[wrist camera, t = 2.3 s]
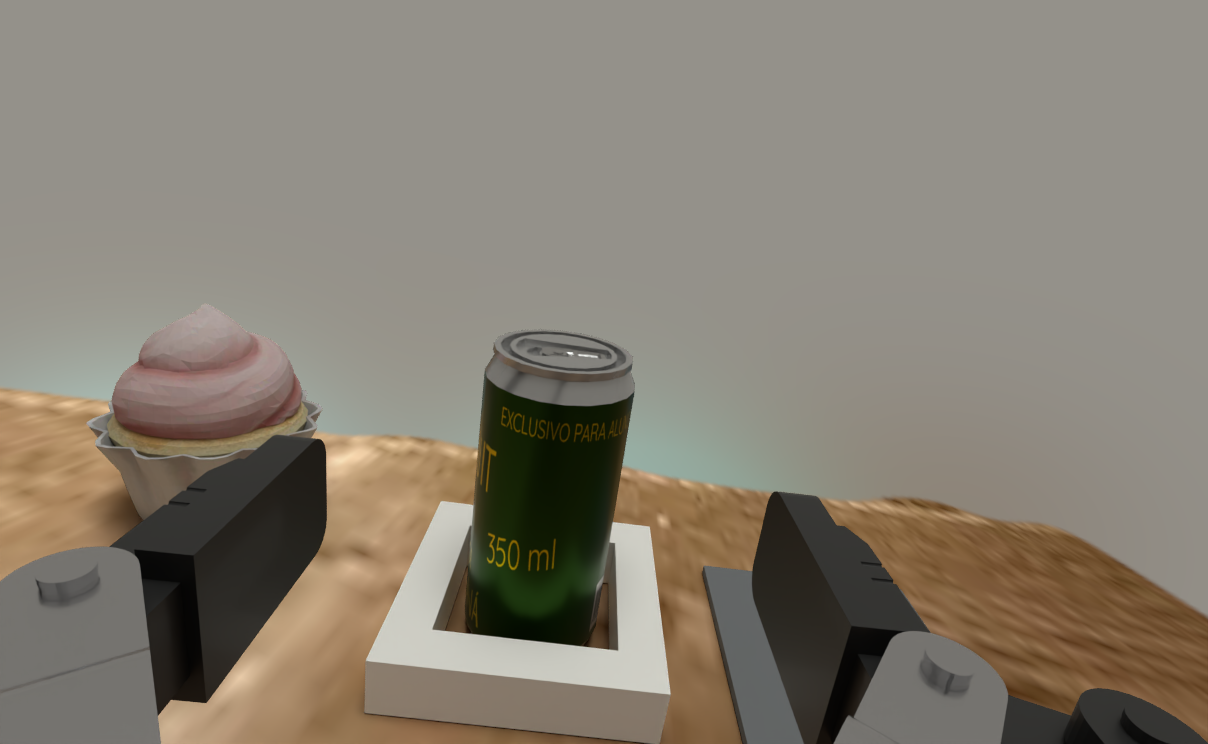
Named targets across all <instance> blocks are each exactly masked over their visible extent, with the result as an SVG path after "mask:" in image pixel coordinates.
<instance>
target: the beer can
mask: <svg viewBox="0 0 1208 744" xmlns="http://www.w3.org/2000/svg"><path fill="white" fill-rule="evenodd" d="M493 350H494V353H495V354H494V356H493V358H492V359H491V360H490V362H489V364H488V365H487V367H486V368H485V374H484V387H483V398H482V399H483V400H482V410H481V422H480V434H479V445H478V457H477V469H476V481H475V493H474V505H473V517H472V529H471V541H470V552H469V564H468V576H467V588H466V600H465V615H466V623H467V625H468V627H469V629H470V632H471V634H475V635H484V636H493V637H502V638H511V639H519V640H528V641H537V642H546V643H555V644H564V645H572V646H581V647H583V645H584V644H585V643H586V642H587V640H588V639H589V637H590V635H591V634H592V632H593V630H594V629H595V626H596V620H597V614H598V608H599V602H600V596H601V590H602V584H603V578H604V572H605V566H606V560H607V554H608V548H609V542H610V536H611V530H612V524H613V518H614V511H615V505H616V499H617V493H618V487H619V481H620V475H621V469H622V463H623V457H624V451H625V445H626V438H627V433H628V427H629V421H630V415H631V409H632V403H633V397H634V388H635V385H634V384H635V383H634V380H633V377H632V374H631V369H632V362H633V357H632V356H631V355H630V353H629V352H628V351H627V350H625V349H624V348H622V347H620V346H618V345H616V344H614V343H611V342H609V341H606V340H603V339H601V338H597V337H593V336H589V335H585V334H579V333H573V332H567V331H558V330H557V331H556V330H521V331H515V332H509V333H507V334H504V335H502V336H499V337H498V338H497V339H496V341H495V342H494V348H493Z"/></svg>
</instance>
